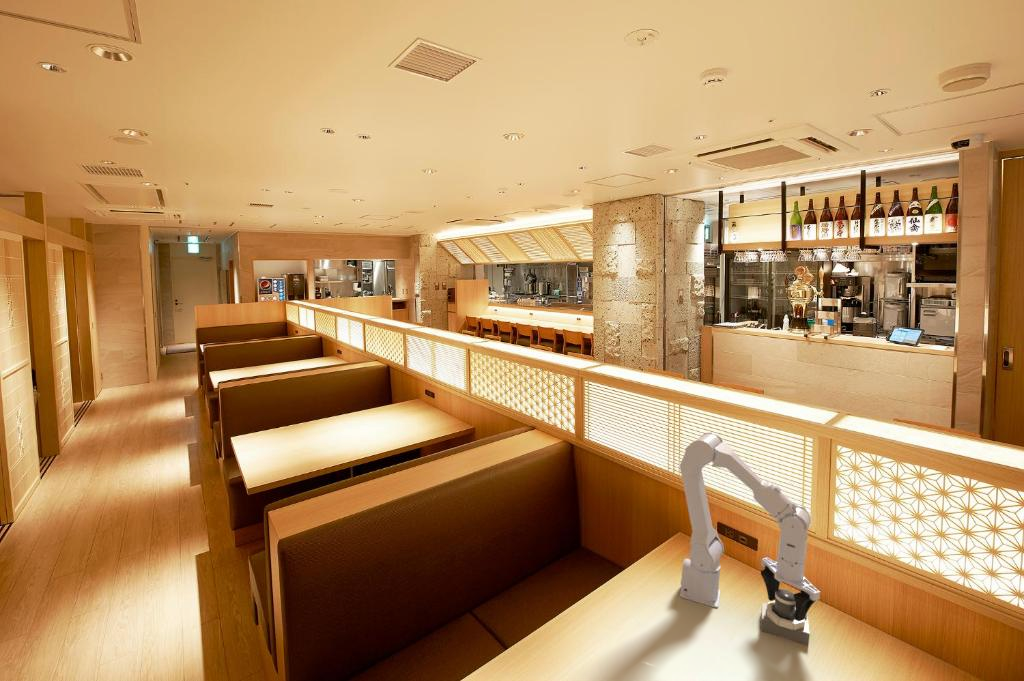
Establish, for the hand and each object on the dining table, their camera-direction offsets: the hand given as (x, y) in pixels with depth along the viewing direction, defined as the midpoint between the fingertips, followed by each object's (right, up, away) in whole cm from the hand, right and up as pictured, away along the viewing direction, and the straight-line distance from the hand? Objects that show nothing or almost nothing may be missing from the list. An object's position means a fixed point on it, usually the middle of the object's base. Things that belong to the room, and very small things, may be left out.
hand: (785, 609), depth 120 cm
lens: (0, -2, 0) cm, 2 cm away
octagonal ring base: (0, -5, +1) cm, 5 cm away
